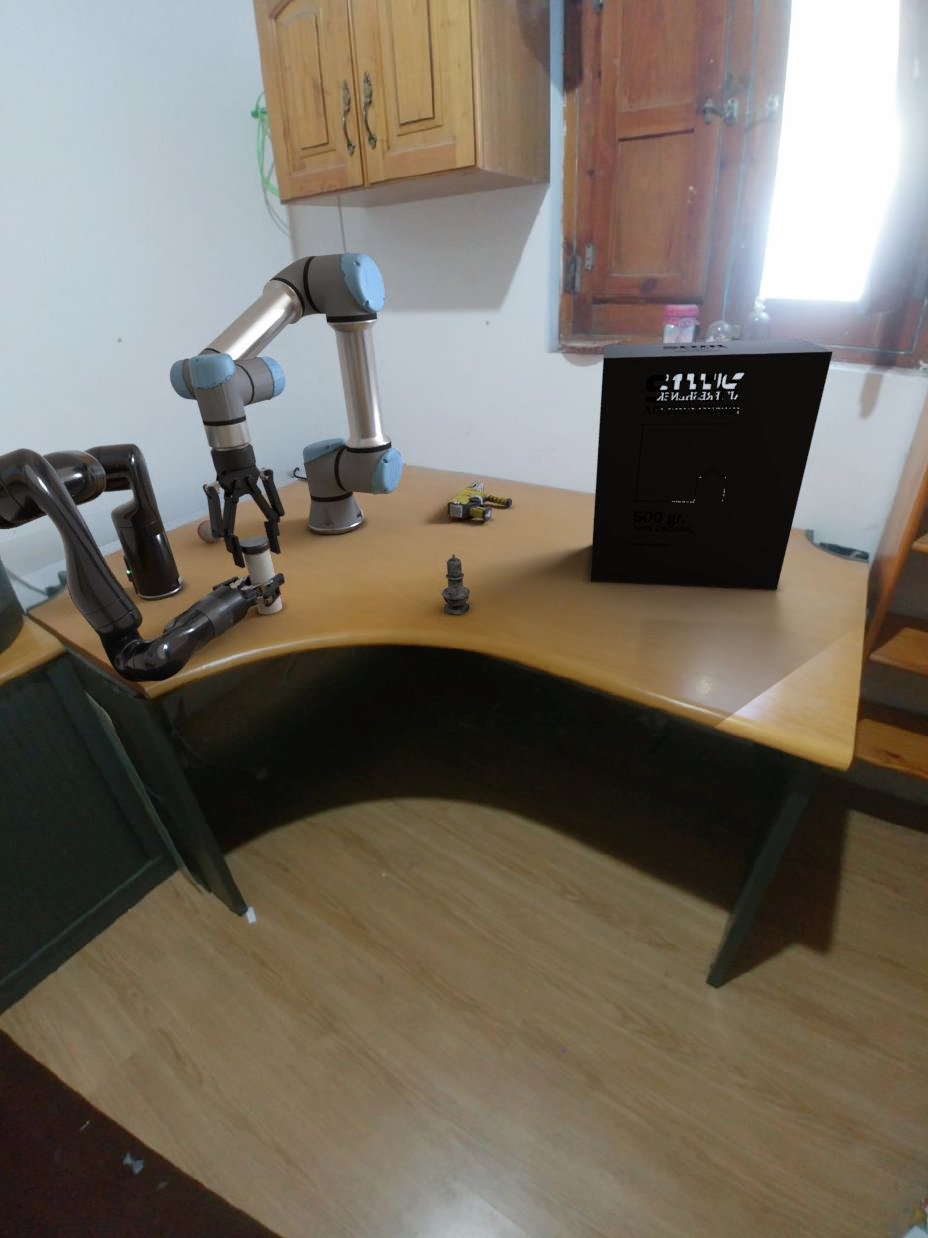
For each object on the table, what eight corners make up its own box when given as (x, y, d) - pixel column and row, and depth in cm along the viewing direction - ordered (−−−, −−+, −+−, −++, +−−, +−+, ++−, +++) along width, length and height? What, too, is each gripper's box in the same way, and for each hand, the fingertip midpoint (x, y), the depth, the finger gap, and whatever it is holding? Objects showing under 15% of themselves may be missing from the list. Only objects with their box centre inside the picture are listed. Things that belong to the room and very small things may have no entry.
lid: (268, 552, 119) (266, 545, 118) (238, 555, 119) (236, 548, 118) (272, 541, 124) (270, 534, 123) (243, 544, 124) (241, 537, 123)
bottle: (253, 613, 127) (236, 548, 119) (265, 602, 131) (250, 538, 123) (275, 615, 126) (259, 549, 118) (286, 603, 130) (271, 539, 122)
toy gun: (520, 486, 181) (473, 479, 185) (498, 510, 161) (445, 501, 165) (519, 501, 183) (472, 494, 187) (496, 526, 163) (445, 518, 167)
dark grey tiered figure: (468, 615, 121) (465, 561, 115) (439, 614, 122) (435, 559, 116) (473, 601, 126) (471, 548, 120) (446, 600, 127) (442, 547, 121)
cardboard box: (756, 549, 141) (800, 338, 118) (776, 589, 124) (832, 351, 101) (592, 544, 148) (604, 344, 126) (590, 580, 131) (603, 357, 109)
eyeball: (211, 547, 159) (205, 526, 156) (196, 543, 162) (190, 522, 159) (229, 539, 163) (224, 518, 160) (214, 536, 166) (209, 515, 164)
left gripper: (242, 601, 109) (296, 562, 123) (180, 591, 114) (239, 555, 128) (251, 636, 113) (303, 595, 127) (191, 625, 118) (248, 587, 131)
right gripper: (267, 431, 120) (289, 538, 131) (167, 455, 107) (202, 572, 118) (289, 436, 115) (310, 546, 127) (188, 461, 102) (222, 582, 114)
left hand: (271, 575), depth 127 cm, fingers closed on bottle, 5 cm apart
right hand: (258, 558), depth 122 cm, fingers open, 7 cm apart
